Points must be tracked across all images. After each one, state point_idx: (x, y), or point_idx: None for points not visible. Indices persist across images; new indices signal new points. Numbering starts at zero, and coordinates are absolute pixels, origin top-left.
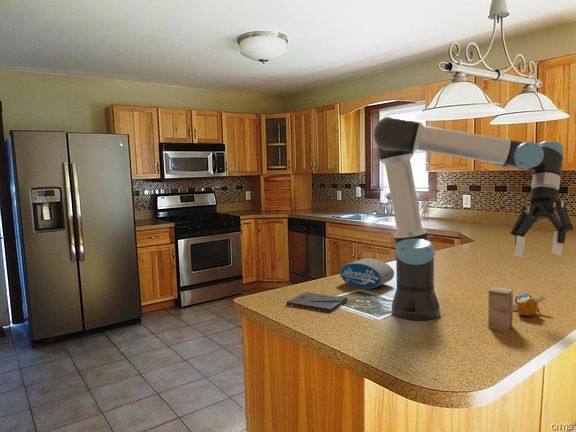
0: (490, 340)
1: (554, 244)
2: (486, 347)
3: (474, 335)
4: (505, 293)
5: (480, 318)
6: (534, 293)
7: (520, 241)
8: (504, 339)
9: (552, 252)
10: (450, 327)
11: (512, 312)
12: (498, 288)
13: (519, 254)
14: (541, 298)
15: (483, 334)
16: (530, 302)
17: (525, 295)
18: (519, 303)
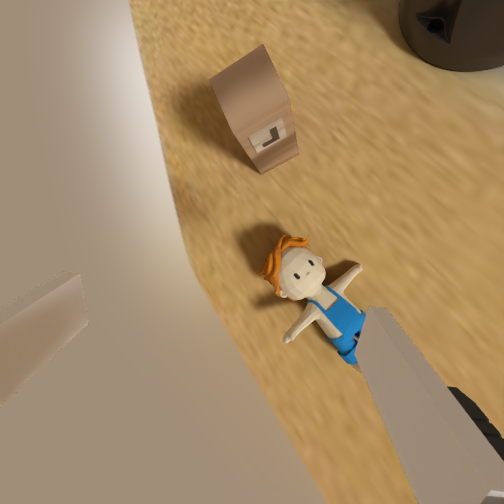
0: None
1: (12, 302)
2: (210, 42)
3: None
4: (214, 76)
5: (338, 145)
6: None
7: (426, 434)
8: None
9: (71, 275)
10: (327, 33)
11: (252, 161)
12: (265, 95)
13: (367, 338)
14: (288, 331)
15: None
16: (269, 256)
17: (337, 322)
18: (294, 240)
